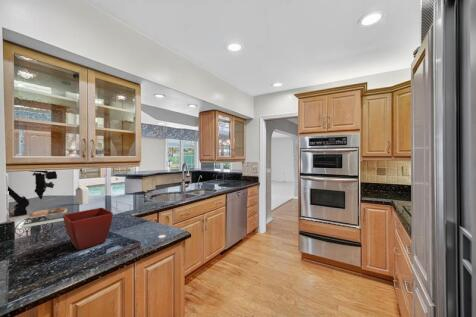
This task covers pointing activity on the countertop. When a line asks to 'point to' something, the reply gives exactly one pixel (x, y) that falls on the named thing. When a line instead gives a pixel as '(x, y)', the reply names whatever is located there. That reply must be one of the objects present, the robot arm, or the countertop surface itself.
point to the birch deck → (48, 213)
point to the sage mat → (42, 222)
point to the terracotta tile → (40, 213)
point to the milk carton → (82, 195)
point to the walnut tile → (57, 210)
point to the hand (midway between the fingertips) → (41, 198)
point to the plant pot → (88, 227)
